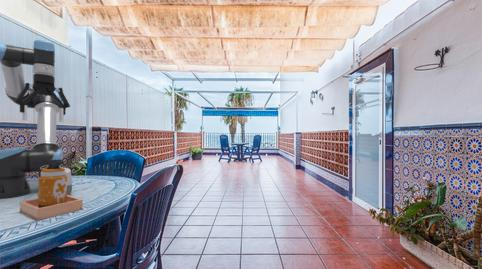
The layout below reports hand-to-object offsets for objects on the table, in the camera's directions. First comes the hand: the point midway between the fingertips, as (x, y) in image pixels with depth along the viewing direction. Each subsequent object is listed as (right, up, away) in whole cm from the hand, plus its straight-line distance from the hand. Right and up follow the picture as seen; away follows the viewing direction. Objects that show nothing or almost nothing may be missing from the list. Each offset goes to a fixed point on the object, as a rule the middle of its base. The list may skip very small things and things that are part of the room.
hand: (43, 121), depth 110 cm
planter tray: (+15, -37, -14) cm, 42 cm away
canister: (+14, -36, -14) cm, 41 cm away
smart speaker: (+2, -37, +7) cm, 38 cm away
